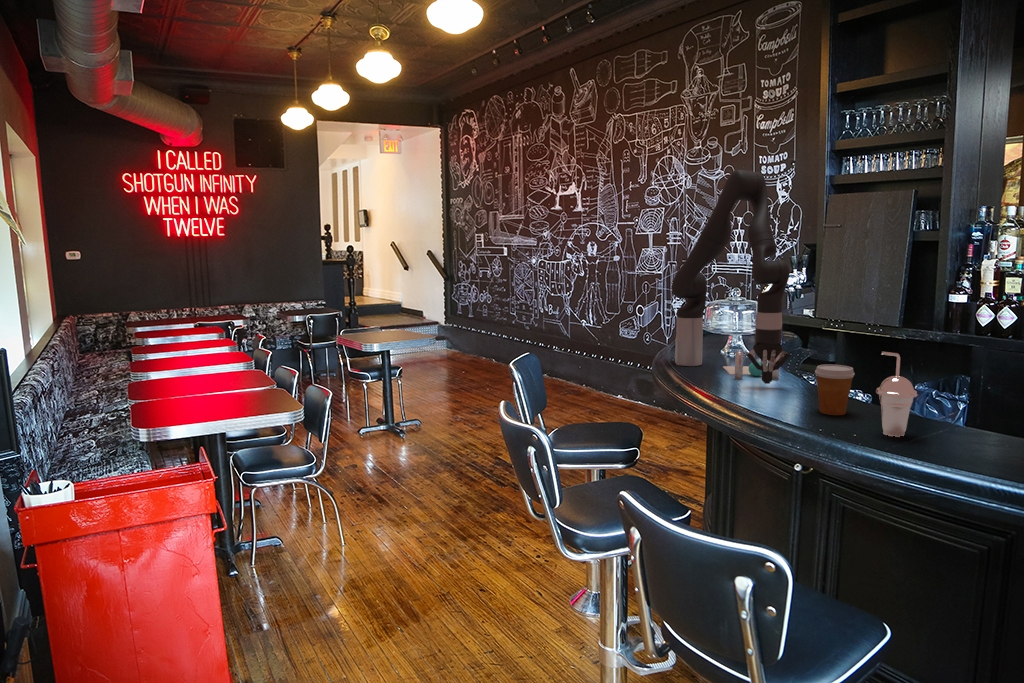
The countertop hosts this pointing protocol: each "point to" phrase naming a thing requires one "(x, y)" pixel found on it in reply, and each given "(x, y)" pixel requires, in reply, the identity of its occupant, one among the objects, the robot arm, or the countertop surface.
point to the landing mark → (732, 370)
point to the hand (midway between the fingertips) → (766, 383)
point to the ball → (755, 370)
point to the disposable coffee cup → (833, 388)
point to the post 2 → (775, 371)
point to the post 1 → (738, 365)
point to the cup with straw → (895, 401)
